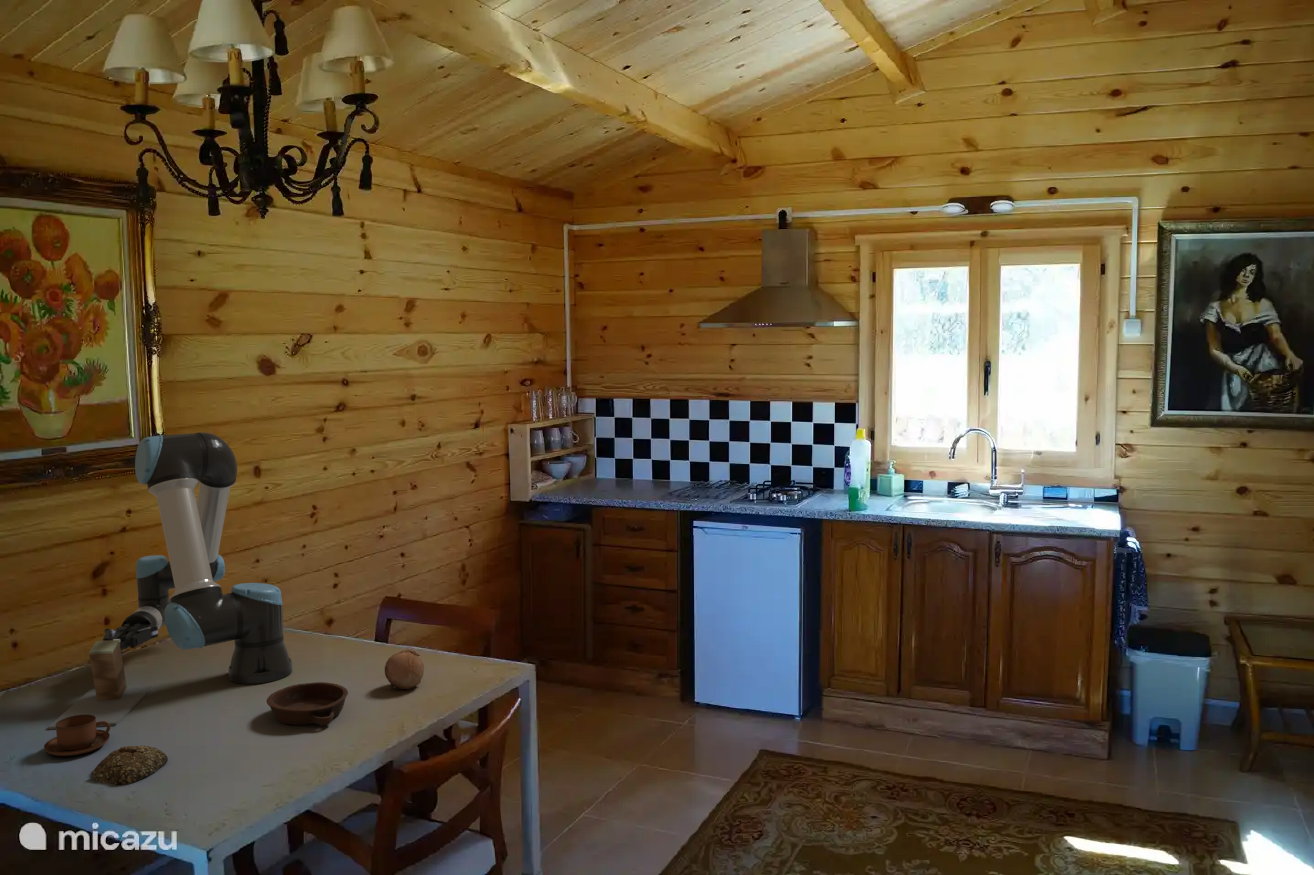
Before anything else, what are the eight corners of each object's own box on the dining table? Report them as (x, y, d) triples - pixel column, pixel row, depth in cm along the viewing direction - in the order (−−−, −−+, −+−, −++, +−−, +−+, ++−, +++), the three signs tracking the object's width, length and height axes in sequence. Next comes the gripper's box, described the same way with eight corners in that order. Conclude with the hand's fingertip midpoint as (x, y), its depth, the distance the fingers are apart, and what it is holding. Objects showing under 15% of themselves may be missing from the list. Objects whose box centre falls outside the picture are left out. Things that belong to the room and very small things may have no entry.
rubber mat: (152, 688, 250) (151, 685, 250) (116, 725, 227) (116, 722, 227) (90, 691, 248) (90, 689, 248) (48, 729, 225) (48, 726, 225)
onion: (411, 693, 254) (421, 653, 257) (424, 694, 246) (434, 652, 250) (375, 685, 250) (385, 645, 253) (386, 686, 242) (397, 644, 245)
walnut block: (126, 687, 246) (119, 639, 242) (119, 699, 241) (111, 651, 237) (104, 688, 245) (96, 641, 241) (97, 700, 240) (88, 652, 236)
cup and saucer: (100, 733, 223) (98, 706, 222) (118, 749, 214) (116, 720, 214) (37, 749, 215) (35, 721, 214) (53, 766, 206) (51, 737, 205)
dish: (285, 740, 219) (284, 718, 218) (254, 710, 236) (253, 689, 235) (364, 721, 229) (363, 699, 229) (328, 693, 246) (327, 673, 246)
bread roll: (177, 762, 208) (176, 739, 207) (130, 788, 196) (129, 764, 196) (125, 755, 211) (124, 732, 211) (77, 781, 200) (75, 756, 199)
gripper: (169, 637, 267) (137, 666, 244) (116, 639, 266) (78, 669, 242) (167, 609, 267) (135, 636, 243) (114, 611, 265) (76, 638, 241)
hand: (107, 652), depth 243 cm, fingers closed
